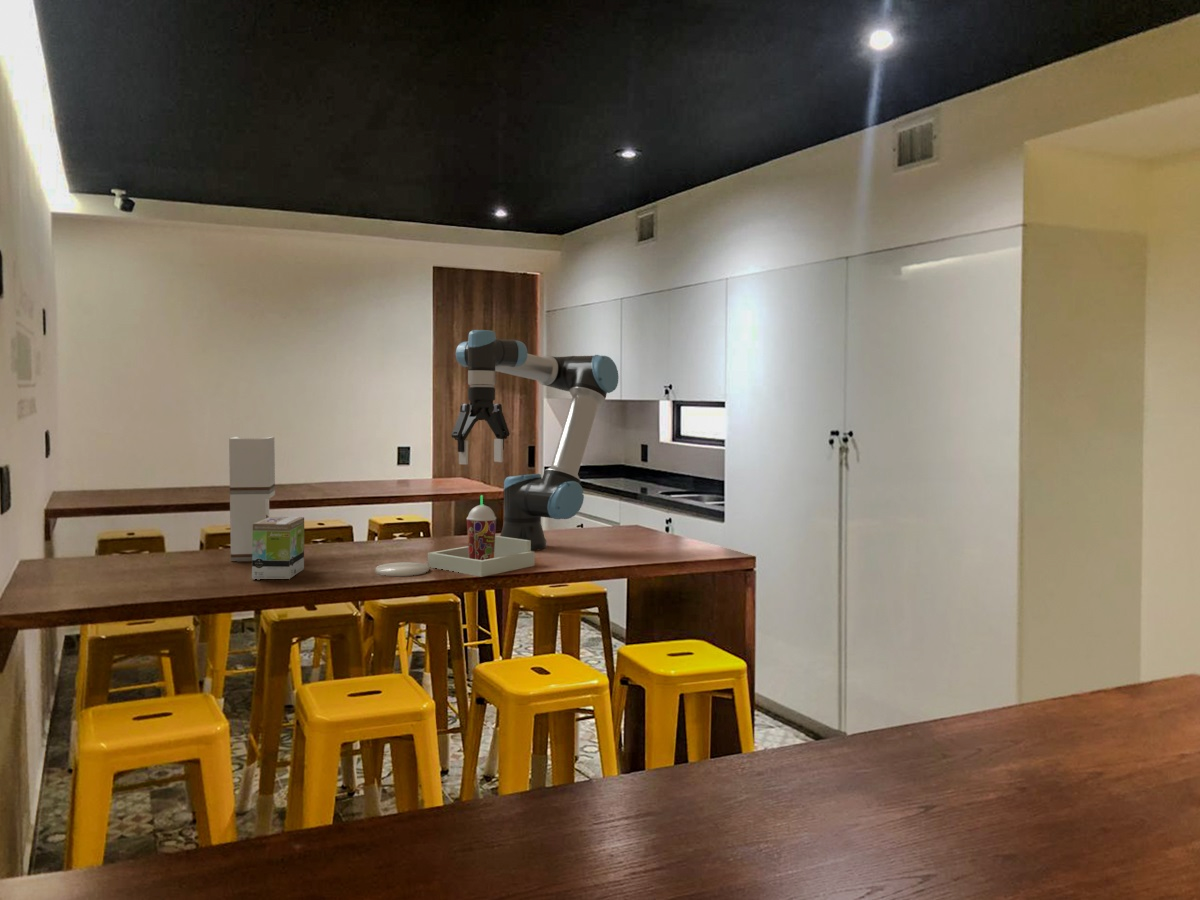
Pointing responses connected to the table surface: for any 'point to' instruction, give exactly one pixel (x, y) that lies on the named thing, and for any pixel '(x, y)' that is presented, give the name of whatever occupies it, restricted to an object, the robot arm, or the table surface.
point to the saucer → (402, 569)
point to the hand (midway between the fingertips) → (481, 463)
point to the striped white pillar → (249, 490)
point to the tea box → (277, 547)
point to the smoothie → (481, 532)
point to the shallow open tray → (505, 559)
